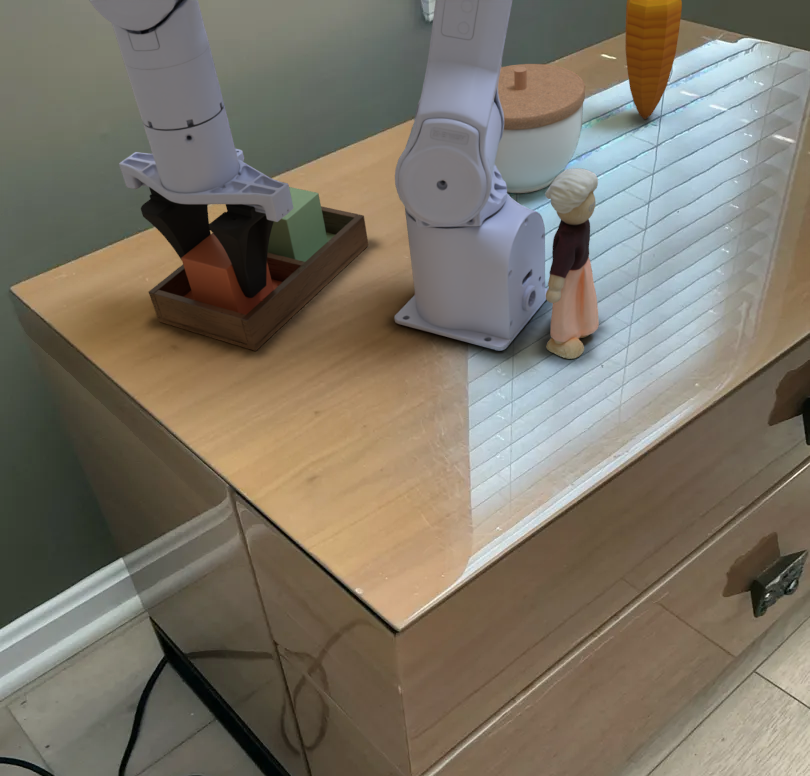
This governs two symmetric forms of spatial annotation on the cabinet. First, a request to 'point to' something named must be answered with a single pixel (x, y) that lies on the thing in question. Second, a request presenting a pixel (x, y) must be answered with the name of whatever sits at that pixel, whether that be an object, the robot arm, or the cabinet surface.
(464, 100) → the robot arm
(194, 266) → the terracotta block
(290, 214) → the sage block
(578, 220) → the grandmother figurine
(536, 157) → the trinket box
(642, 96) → the carrot
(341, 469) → the cabinet surface
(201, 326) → the sorting tray
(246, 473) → the cabinet surface
